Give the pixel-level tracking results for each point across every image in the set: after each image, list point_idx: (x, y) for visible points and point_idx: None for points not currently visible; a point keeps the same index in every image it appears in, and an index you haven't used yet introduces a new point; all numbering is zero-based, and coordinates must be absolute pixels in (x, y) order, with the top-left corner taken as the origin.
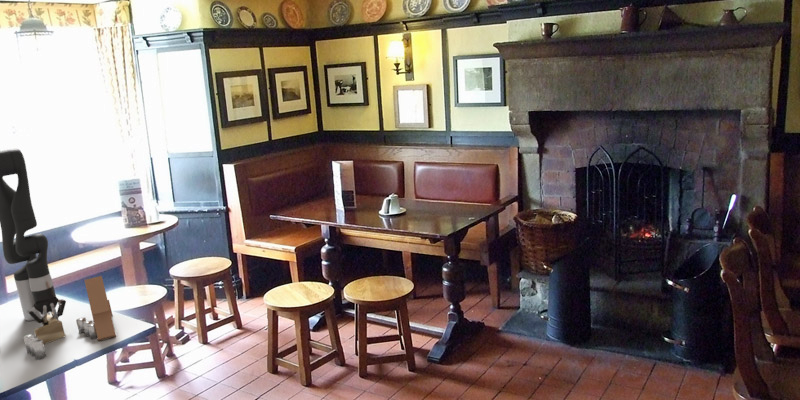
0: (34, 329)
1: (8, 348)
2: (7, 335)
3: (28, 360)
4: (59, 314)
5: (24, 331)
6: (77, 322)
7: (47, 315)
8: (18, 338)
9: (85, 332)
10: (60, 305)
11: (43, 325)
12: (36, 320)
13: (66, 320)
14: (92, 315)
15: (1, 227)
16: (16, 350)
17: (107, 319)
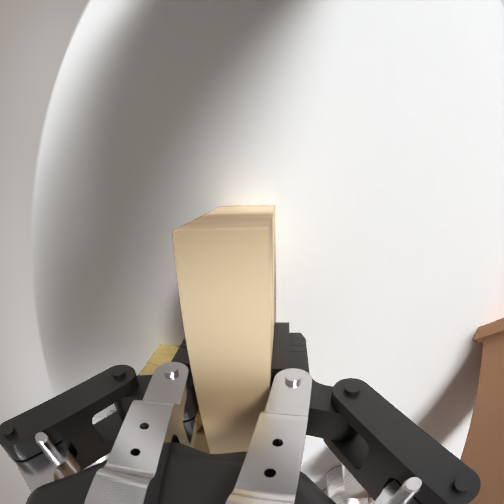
0: (109, 454)
1: (38, 291)
2: (62, 70)
3: None
4: (324, 439)
5: (129, 76)
6: (344, 486)
7: (246, 290)
8: (75, 184)
9: (327, 491)
10: (396, 474)
11: (177, 359)
12: (106, 427)
13: (414, 146)
14: (496, 332)
15: None
16: (67, 353)
17: None
